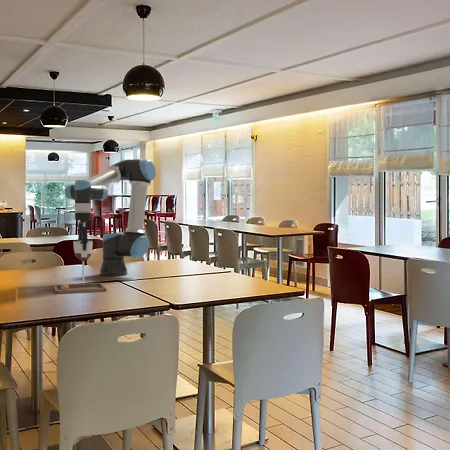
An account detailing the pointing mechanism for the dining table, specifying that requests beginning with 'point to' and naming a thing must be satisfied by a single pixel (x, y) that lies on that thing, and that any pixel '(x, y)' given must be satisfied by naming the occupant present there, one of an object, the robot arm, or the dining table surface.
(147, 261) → the dining table surface
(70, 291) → the tray
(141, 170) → the robot arm
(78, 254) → the wineglass
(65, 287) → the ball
